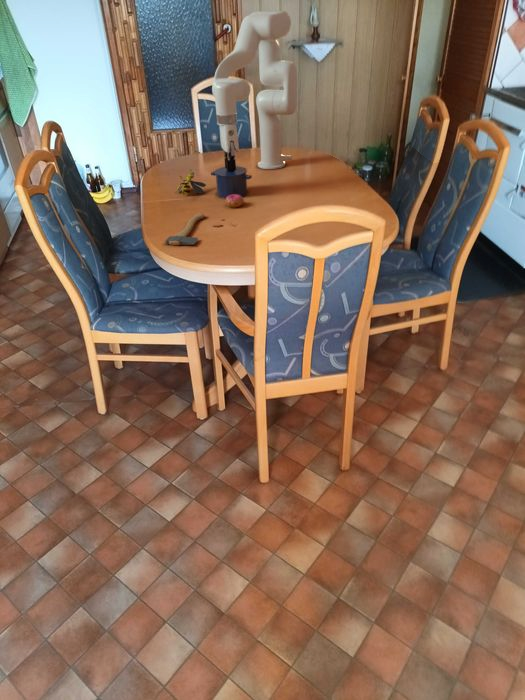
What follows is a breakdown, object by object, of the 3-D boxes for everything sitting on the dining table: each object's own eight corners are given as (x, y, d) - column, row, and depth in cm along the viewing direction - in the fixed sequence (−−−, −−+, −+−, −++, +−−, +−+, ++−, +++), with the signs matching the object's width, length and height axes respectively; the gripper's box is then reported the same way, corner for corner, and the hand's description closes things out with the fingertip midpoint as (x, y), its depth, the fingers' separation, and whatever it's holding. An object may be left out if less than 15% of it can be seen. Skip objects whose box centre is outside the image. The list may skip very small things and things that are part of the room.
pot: (221, 186, 220) (219, 166, 215) (258, 191, 214) (257, 170, 209) (206, 195, 212) (204, 174, 207) (244, 200, 205) (242, 178, 200)
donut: (241, 201, 205) (240, 191, 202) (246, 207, 199) (245, 197, 197) (223, 204, 203) (222, 194, 201) (227, 209, 197) (227, 200, 195)
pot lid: (225, 167, 215) (223, 152, 212) (252, 170, 210) (252, 154, 207) (208, 176, 206) (207, 160, 203) (237, 180, 201) (236, 163, 198)
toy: (162, 181, 205) (180, 167, 216) (166, 202, 210) (184, 187, 221) (189, 184, 201) (206, 169, 212) (192, 204, 207) (209, 189, 217)
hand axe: (193, 242, 170) (164, 240, 172) (194, 247, 170) (165, 245, 173) (217, 212, 191) (191, 211, 193) (218, 217, 192) (191, 216, 194)
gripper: (242, 122, 191) (245, 173, 202) (230, 114, 204) (234, 162, 215) (222, 124, 189) (226, 176, 200) (211, 116, 202) (216, 165, 213)
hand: (230, 168), depth 207 cm, fingers closed on pot lid, 3 cm apart
